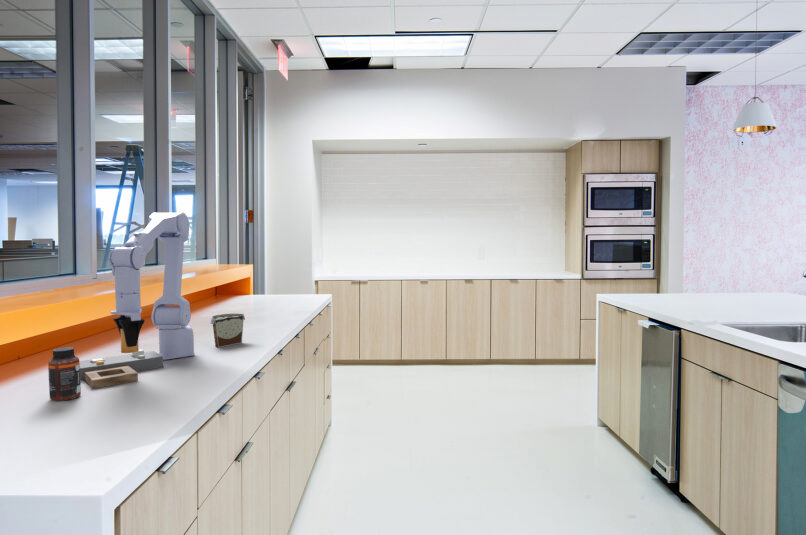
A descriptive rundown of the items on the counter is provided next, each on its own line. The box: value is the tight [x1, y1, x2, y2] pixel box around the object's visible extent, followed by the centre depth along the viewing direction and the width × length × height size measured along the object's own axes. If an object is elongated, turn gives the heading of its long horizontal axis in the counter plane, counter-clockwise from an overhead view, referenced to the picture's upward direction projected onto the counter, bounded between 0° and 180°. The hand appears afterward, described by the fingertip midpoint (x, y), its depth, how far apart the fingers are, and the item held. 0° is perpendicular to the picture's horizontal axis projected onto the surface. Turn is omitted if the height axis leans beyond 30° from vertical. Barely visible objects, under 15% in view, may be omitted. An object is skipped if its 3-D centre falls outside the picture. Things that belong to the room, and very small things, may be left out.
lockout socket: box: [84, 366, 139, 389], centre depth 128 cm, size 10×10×2 cm
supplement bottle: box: [47, 346, 82, 402], centre depth 114 cm, size 6×6×11 cm
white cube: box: [91, 357, 104, 363], centre depth 136 cm, size 2×2×2 cm
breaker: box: [131, 348, 145, 358], centre depth 142 cm, size 2×2×2 cm
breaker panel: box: [79, 350, 164, 381], centre depth 138 cm, size 20×9×4 cm, turn 131°
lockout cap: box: [120, 328, 139, 354], centre depth 130 cm, size 4×4×6 cm
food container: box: [210, 313, 246, 349], centre depth 172 cm, size 12×6×10 cm, turn 145°
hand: (129, 345), depth 130 cm, fingers closed on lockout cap, 4 cm apart
